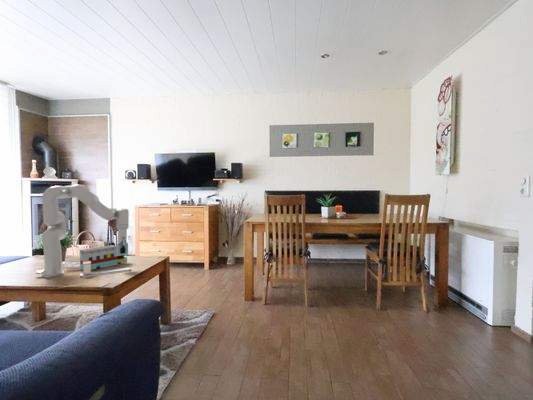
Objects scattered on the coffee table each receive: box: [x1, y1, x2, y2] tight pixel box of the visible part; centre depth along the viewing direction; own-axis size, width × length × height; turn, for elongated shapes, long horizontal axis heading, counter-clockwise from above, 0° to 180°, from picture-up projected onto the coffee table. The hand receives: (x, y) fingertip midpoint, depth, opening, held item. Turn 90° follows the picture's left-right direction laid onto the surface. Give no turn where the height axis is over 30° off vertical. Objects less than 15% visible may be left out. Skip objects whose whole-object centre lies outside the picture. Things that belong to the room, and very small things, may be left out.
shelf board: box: [79, 267, 132, 278], centre depth 206 cm, size 30×11×2 cm, turn 122°
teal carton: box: [116, 242, 129, 256], centre depth 212 cm, size 4×7×8 cm, turn 122°
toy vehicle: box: [79, 244, 128, 271], centre depth 224 cm, size 8×30×15 cm, turn 143°
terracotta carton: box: [82, 261, 92, 275], centre depth 200 cm, size 4×7×8 cm
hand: (122, 252), depth 212 cm, fingers closed on teal carton, 4 cm apart
